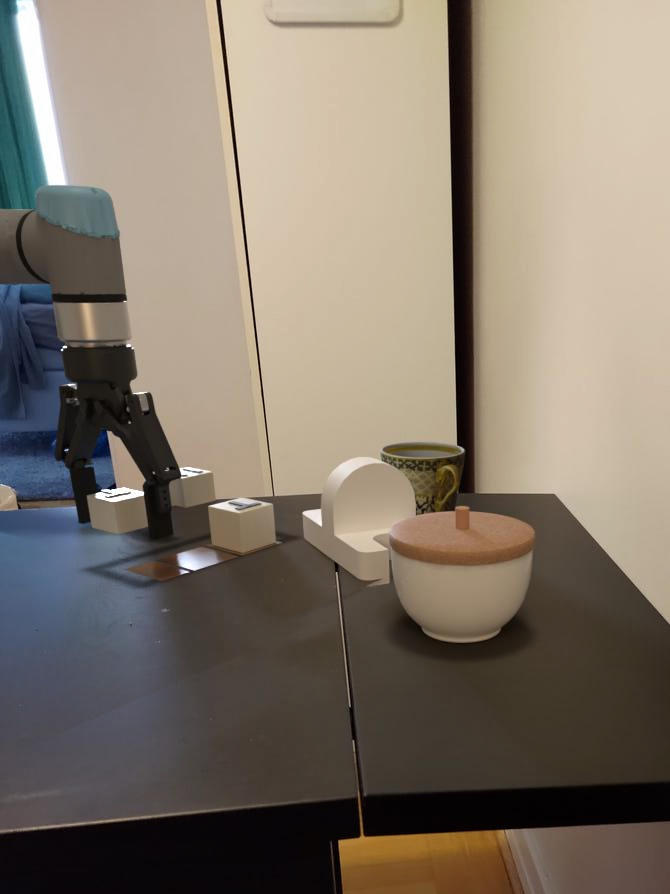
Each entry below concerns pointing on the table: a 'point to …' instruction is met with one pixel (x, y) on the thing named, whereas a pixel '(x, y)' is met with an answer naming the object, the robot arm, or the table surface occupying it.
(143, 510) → the tile
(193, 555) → the word board
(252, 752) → the table surface
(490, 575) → the lidded bowl
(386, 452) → the ceramic cup
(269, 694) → the table surface
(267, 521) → the tile
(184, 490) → the tile middle
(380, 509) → the u-slot stand
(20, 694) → the table surface
